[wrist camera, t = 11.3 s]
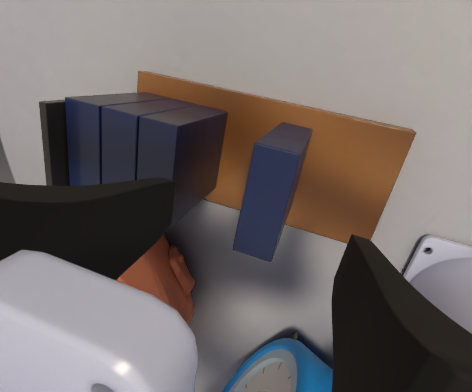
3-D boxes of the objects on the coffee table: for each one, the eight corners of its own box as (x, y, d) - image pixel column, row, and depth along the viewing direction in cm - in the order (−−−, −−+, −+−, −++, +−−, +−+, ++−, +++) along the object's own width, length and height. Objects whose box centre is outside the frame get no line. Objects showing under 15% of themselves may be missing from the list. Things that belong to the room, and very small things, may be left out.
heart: (45, 209, 20) (35, 339, 27) (205, 287, 20) (153, 400, 27) (101, 178, 26) (81, 294, 33) (228, 239, 25) (180, 344, 32)
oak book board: (365, 242, 21) (382, 343, 13) (140, 174, 25) (46, 220, 17) (413, 129, 18) (475, 170, 10) (145, 71, 21) (31, 66, 13)
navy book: (291, 207, 21) (270, 263, 14) (263, 199, 21) (231, 250, 15) (313, 129, 18) (301, 154, 12) (281, 121, 19) (254, 142, 13)
